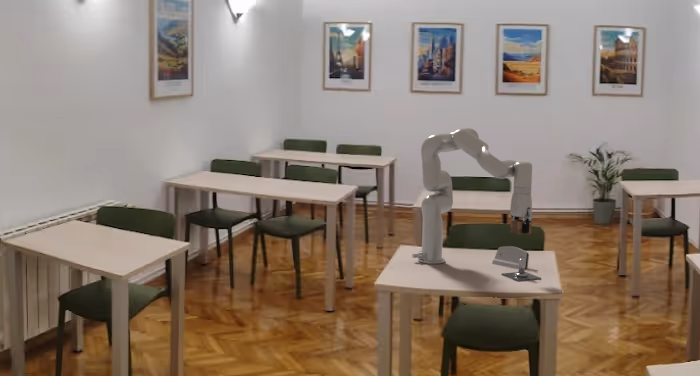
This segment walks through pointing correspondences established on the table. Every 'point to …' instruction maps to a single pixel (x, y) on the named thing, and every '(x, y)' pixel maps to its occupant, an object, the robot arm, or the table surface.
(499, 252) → the hinge
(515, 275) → the post
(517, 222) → the collar
